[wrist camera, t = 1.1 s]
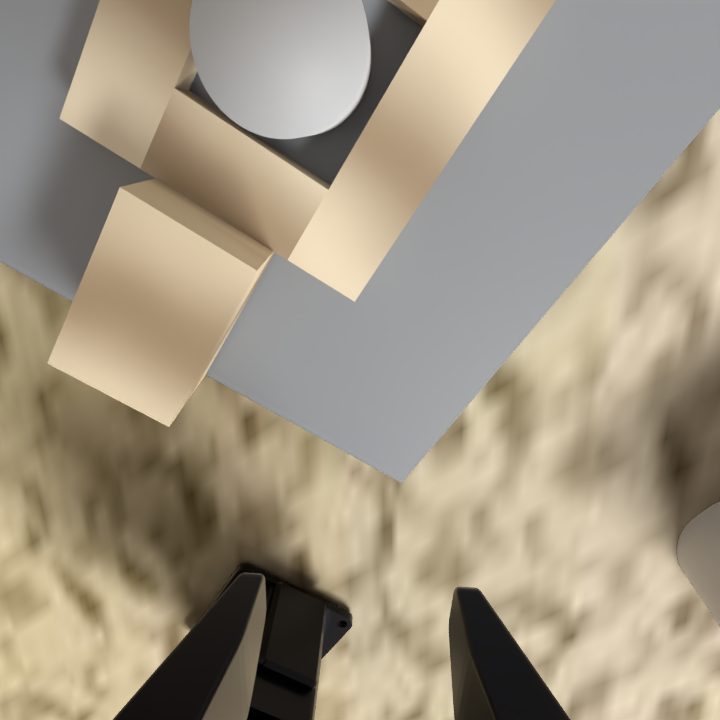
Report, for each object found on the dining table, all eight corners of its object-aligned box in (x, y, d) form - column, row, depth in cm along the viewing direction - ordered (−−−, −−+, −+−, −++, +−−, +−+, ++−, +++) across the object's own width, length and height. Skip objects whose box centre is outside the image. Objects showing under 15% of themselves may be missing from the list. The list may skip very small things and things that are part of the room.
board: (400, 465, 22) (405, 556, 18) (-116, 176, 18) (-290, 195, 14) (852, -78, 14) (1084, -177, 10) (103, -832, 10) (-146, -1684, 5)
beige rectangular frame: (224, -278, 12) (168, -420, 9) (552, -6, 14) (602, -43, 11) (24, 278, 18) (-53, 311, 15) (273, 415, 20) (253, 470, 17)
